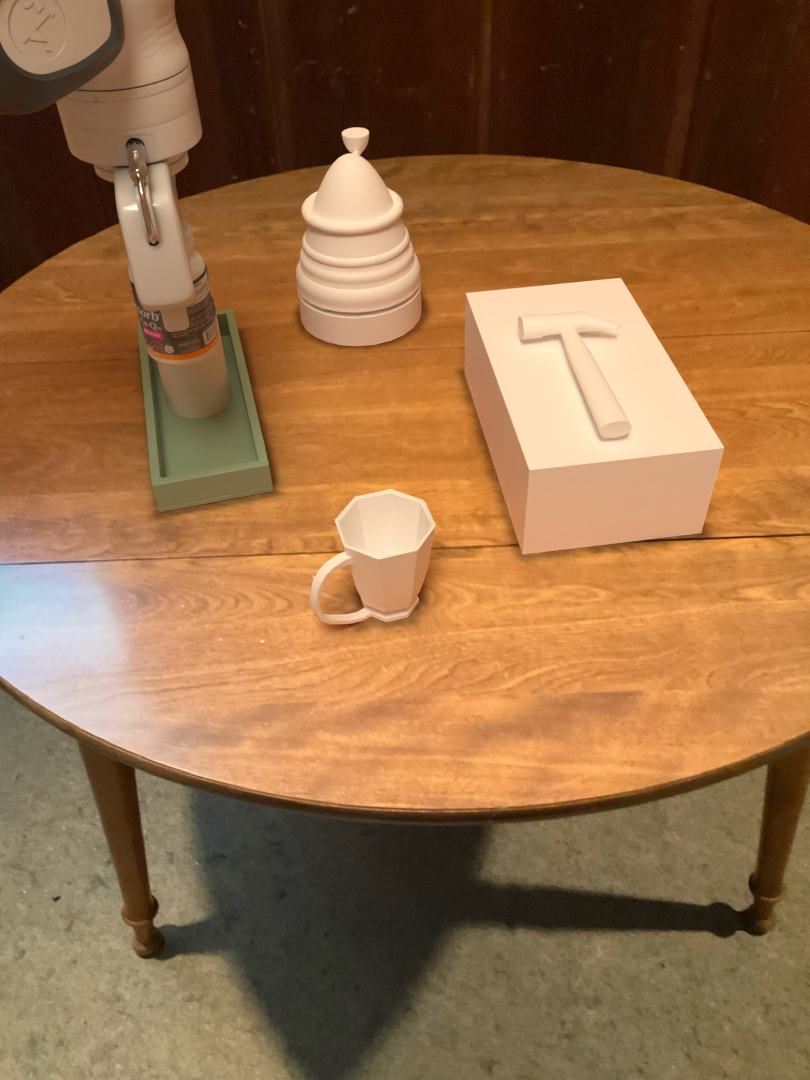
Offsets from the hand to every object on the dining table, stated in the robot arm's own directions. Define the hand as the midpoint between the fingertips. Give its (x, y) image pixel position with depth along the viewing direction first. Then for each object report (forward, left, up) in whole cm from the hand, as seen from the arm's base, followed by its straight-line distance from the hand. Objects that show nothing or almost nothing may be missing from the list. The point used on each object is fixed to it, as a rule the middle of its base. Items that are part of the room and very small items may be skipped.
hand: (174, 302), depth 70 cm
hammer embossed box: (+31, -7, -16) cm, 35 cm away
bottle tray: (0, +7, -16) cm, 17 cm away
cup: (+10, -21, -16) cm, 28 cm away
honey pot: (+18, +20, -16) cm, 31 cm away
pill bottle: (0, 0, -4) cm, 4 cm away
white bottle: (0, +9, -15) cm, 17 cm away
